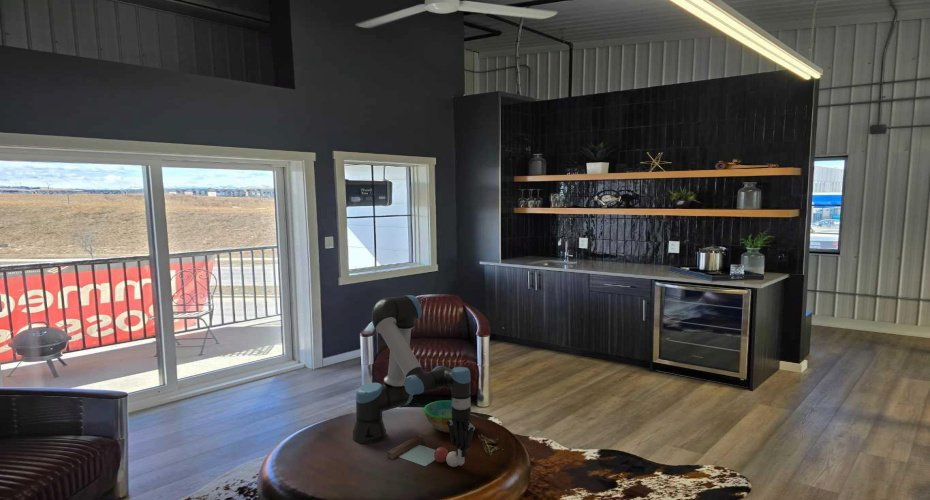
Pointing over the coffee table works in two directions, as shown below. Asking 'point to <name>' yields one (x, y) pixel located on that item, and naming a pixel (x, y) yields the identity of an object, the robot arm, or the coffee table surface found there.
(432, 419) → the bowl
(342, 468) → the coffee table surface
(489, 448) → the butterfly
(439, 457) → the red ball
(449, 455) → the white ball
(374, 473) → the coffee table surface
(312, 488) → the coffee table surface
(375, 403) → the robot arm
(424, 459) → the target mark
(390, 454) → the strip
